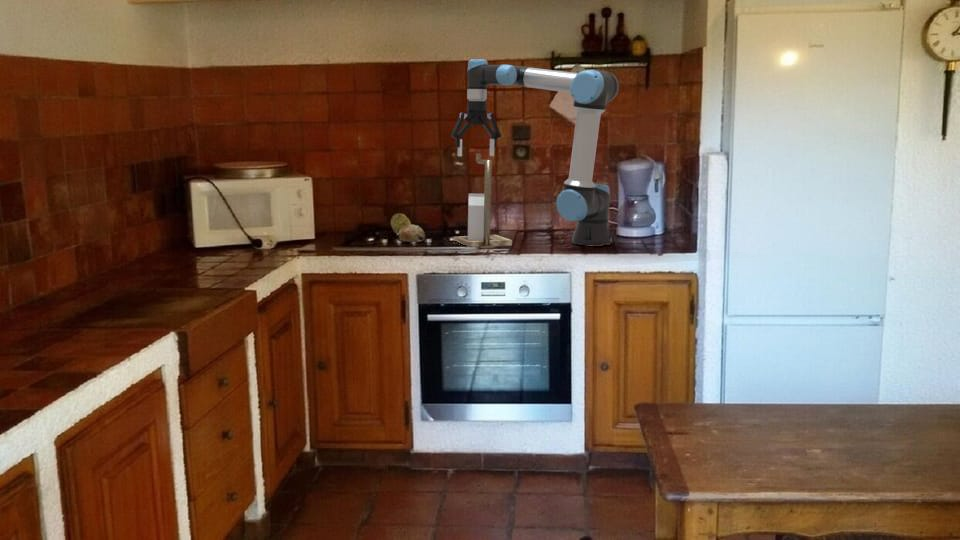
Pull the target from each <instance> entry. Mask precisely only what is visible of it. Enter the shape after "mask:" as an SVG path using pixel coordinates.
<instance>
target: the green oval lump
mask: <svg viewBox="0 0 960 540" xmlns="http://www.w3.org/2000/svg"><path fill="white" fill-rule="evenodd" d="M410 224H412V222H411V220H410V219H409V217H407V216H406V215H405V214H404V213H400V212H399V213H395V214H393V215H392V217H391V218H390V227H391V228H392V231H393V233H394V234H395V233H396V234H395V235H397V233H399V230H401V229H402V228H403V227H404V226H406V225H410Z"/></svg>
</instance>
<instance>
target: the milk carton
mask: <svg viewBox="0 0 960 540" xmlns="http://www.w3.org/2000/svg"><path fill="white" fill-rule="evenodd" d="M467 204H468V207H467V209H468V210H467V211H468V213H467V236H468V240H469V241H483V238H484V193H468V202H467Z"/></svg>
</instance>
